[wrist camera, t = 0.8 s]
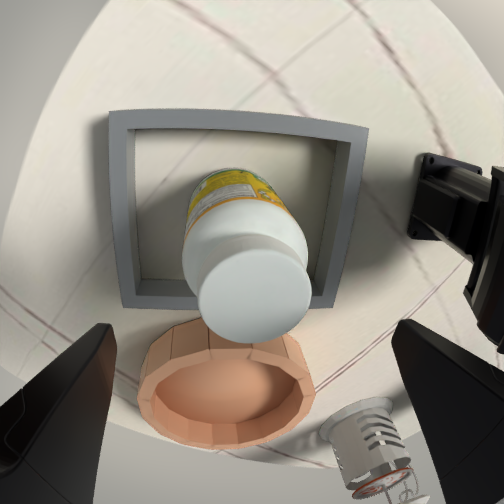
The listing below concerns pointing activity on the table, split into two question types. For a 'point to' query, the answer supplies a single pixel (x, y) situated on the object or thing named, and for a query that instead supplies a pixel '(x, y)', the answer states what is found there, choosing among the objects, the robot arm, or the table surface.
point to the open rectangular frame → (127, 121)
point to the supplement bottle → (245, 258)
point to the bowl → (223, 388)
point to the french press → (369, 449)
